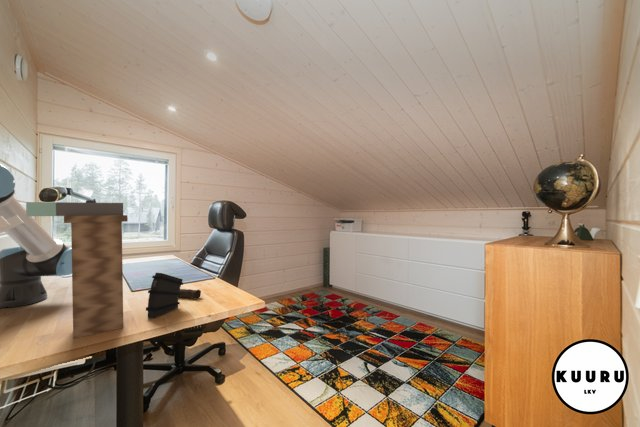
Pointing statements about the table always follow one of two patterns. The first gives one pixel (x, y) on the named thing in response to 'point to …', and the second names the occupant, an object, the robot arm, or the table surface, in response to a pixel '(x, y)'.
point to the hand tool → (190, 293)
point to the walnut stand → (96, 273)
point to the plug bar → (72, 209)
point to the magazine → (163, 295)
